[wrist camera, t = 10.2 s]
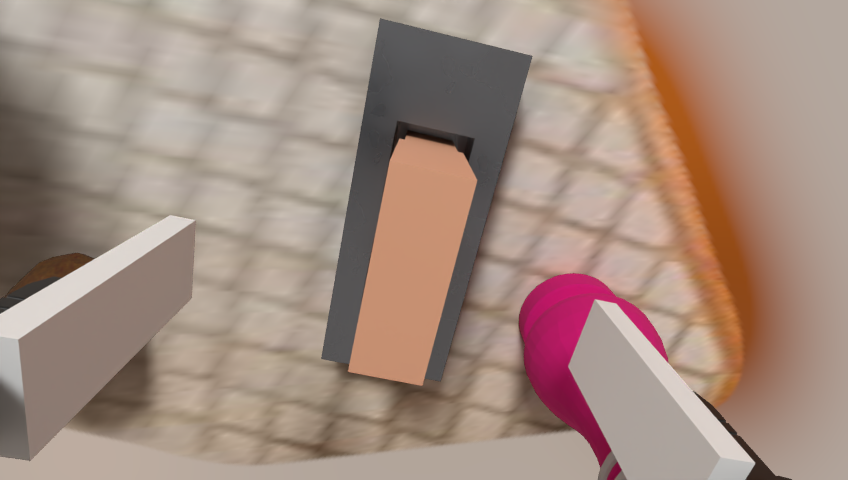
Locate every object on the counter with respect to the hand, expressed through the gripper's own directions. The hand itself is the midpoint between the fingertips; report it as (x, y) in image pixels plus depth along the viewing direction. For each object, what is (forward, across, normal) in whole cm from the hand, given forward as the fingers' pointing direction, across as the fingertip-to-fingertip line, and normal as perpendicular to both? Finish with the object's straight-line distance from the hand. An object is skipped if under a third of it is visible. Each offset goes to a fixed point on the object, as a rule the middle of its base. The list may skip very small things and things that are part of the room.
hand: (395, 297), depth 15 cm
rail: (+12, +1, 0) cm, 12 cm away
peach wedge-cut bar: (+12, +1, 0) cm, 12 cm away
